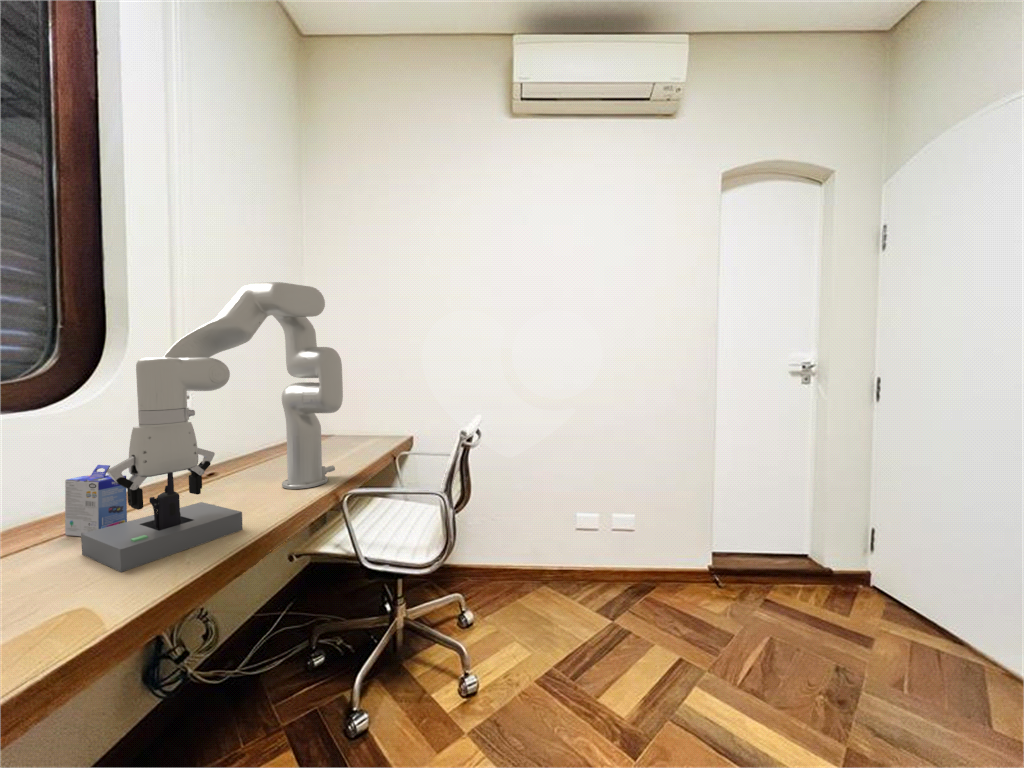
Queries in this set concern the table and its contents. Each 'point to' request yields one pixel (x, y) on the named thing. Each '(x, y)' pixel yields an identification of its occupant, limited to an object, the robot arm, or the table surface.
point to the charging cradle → (158, 536)
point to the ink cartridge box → (93, 502)
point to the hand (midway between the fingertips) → (167, 500)
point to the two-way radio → (166, 506)
